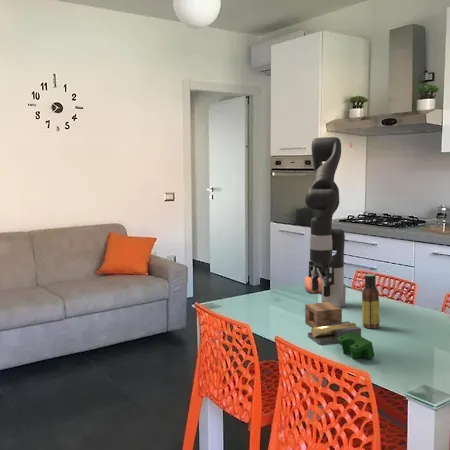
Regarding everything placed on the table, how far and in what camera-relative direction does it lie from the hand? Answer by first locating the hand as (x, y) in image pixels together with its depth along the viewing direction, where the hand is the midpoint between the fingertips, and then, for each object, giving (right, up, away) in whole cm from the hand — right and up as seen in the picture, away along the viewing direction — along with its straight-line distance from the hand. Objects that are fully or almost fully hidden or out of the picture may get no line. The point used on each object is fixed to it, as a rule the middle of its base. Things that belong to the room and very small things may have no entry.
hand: (320, 293), depth 180 cm
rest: (+5, -16, +2) cm, 17 cm away
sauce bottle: (+21, -15, +14) cm, 30 cm away
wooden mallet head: (+4, -14, +16) cm, 22 cm away
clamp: (+8, -18, -14) cm, 24 cm away
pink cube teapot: (+10, -9, +69) cm, 70 cm away
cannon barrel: (+5, -15, +2) cm, 16 cm away
